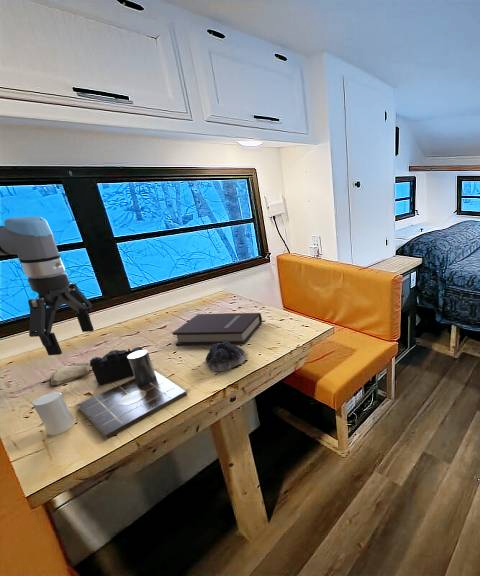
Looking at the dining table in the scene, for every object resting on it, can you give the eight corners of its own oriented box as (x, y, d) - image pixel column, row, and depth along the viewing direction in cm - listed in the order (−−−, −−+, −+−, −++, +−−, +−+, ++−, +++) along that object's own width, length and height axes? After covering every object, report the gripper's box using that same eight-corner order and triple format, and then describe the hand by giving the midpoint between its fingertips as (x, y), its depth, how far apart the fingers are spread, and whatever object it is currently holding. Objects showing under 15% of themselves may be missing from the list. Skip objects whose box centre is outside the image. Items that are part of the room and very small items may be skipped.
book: (262, 322, 142) (260, 311, 139) (244, 344, 123) (241, 331, 121) (203, 324, 142) (200, 312, 140) (176, 345, 124) (172, 332, 122)
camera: (150, 358, 115) (142, 335, 112) (149, 372, 107) (140, 347, 103) (102, 371, 108) (92, 347, 104) (97, 387, 99) (85, 361, 96)
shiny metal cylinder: (133, 382, 99) (124, 355, 96) (152, 373, 103) (143, 348, 100) (140, 387, 96) (131, 360, 93) (159, 378, 101) (150, 352, 97)
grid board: (78, 408, 90) (76, 404, 90) (154, 373, 106) (153, 369, 106) (107, 439, 79) (105, 434, 79) (187, 395, 95) (186, 390, 94)
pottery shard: (52, 391, 100) (88, 375, 104) (43, 381, 99) (80, 365, 102) (66, 375, 109) (98, 361, 113) (57, 366, 108) (91, 352, 111)
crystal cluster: (223, 352, 119) (215, 330, 115) (254, 352, 117) (247, 330, 113) (200, 375, 107) (189, 352, 103) (234, 375, 105) (224, 352, 101)
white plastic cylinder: (45, 430, 83) (30, 400, 79) (71, 418, 87) (57, 389, 83) (51, 438, 80) (35, 407, 76) (77, 425, 84) (63, 395, 81)
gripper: (24, 289, 73) (55, 364, 80) (92, 262, 96) (112, 322, 103) (-15, 291, 72) (21, 367, 79) (64, 262, 94) (86, 324, 102)
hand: (73, 342), depth 91 cm, fingers open, 13 cm apart
